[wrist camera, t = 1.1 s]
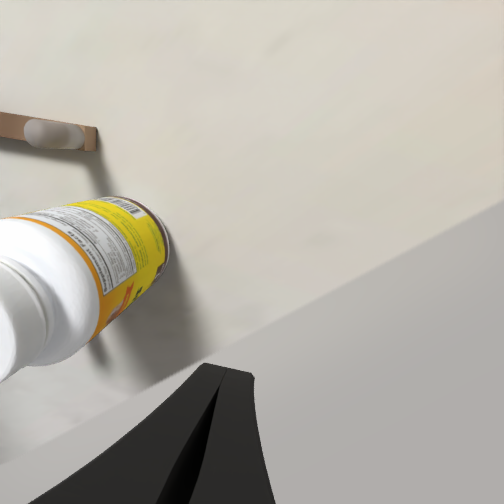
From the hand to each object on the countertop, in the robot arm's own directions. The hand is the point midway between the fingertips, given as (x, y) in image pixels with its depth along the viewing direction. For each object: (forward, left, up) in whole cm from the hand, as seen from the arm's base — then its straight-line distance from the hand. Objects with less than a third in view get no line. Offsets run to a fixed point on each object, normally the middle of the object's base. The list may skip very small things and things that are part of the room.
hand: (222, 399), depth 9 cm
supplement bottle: (-8, 0, -11) cm, 13 cm away
